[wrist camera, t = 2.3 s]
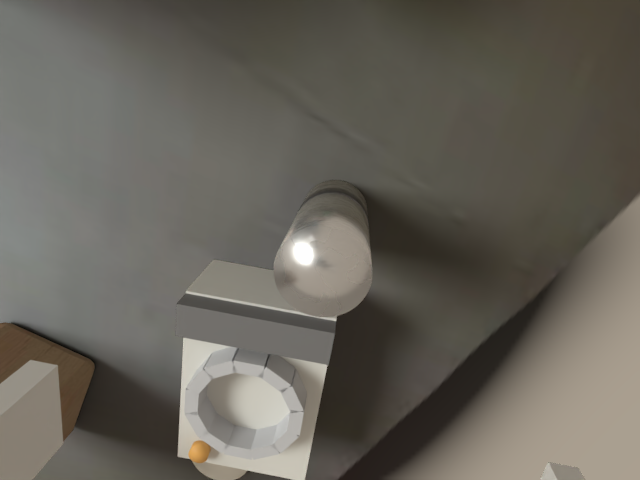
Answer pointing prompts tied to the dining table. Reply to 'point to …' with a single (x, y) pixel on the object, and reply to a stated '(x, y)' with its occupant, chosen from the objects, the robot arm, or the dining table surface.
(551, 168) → the dining table surface
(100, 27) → the dining table surface
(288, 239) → the grey tall rounded cylinder
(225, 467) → the rear cap
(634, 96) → the dining table surface
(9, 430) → the robot arm
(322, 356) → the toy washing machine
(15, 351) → the wooden block
